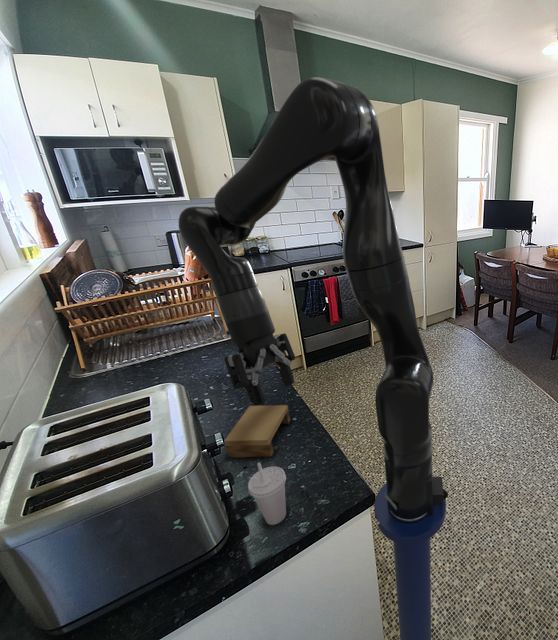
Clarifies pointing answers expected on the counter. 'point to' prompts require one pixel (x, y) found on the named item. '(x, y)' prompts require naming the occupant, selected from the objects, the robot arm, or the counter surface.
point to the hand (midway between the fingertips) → (275, 393)
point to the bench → (256, 431)
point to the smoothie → (269, 493)
